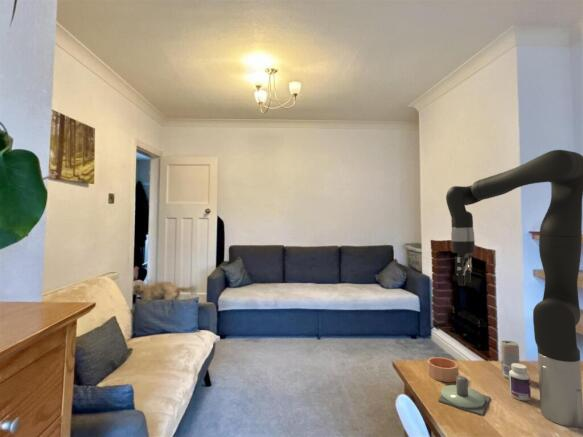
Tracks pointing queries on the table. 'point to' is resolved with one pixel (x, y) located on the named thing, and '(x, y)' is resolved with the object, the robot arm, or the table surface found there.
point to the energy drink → (509, 356)
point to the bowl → (442, 369)
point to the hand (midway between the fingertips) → (464, 284)
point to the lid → (462, 394)
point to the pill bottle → (519, 382)
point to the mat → (473, 410)
